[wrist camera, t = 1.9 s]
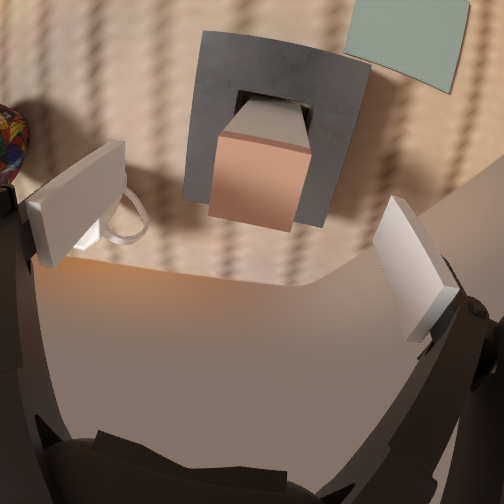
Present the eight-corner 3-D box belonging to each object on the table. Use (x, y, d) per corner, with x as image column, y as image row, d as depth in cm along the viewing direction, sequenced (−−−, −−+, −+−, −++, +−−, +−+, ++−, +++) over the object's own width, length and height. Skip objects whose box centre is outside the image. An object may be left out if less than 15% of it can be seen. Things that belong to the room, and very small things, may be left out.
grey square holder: (215, 33, 21) (203, 30, 18) (359, 63, 21) (371, 65, 18) (195, 180, 29) (182, 199, 26) (319, 206, 29) (322, 228, 26)
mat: (364, -45, 15) (366, -46, 14) (467, 2, 15) (469, 2, 15) (343, 52, 21) (344, 52, 20) (446, 92, 21) (448, 93, 21)
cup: (97, 135, 27) (48, 165, 20) (175, 187, 30) (143, 231, 23) (76, 186, 31) (33, 223, 24) (146, 233, 33) (115, 281, 27)
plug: (252, 95, 24) (218, 135, 13) (299, 104, 24) (311, 155, 13) (244, 138, 26) (208, 215, 15) (290, 147, 26) (290, 232, 15)
